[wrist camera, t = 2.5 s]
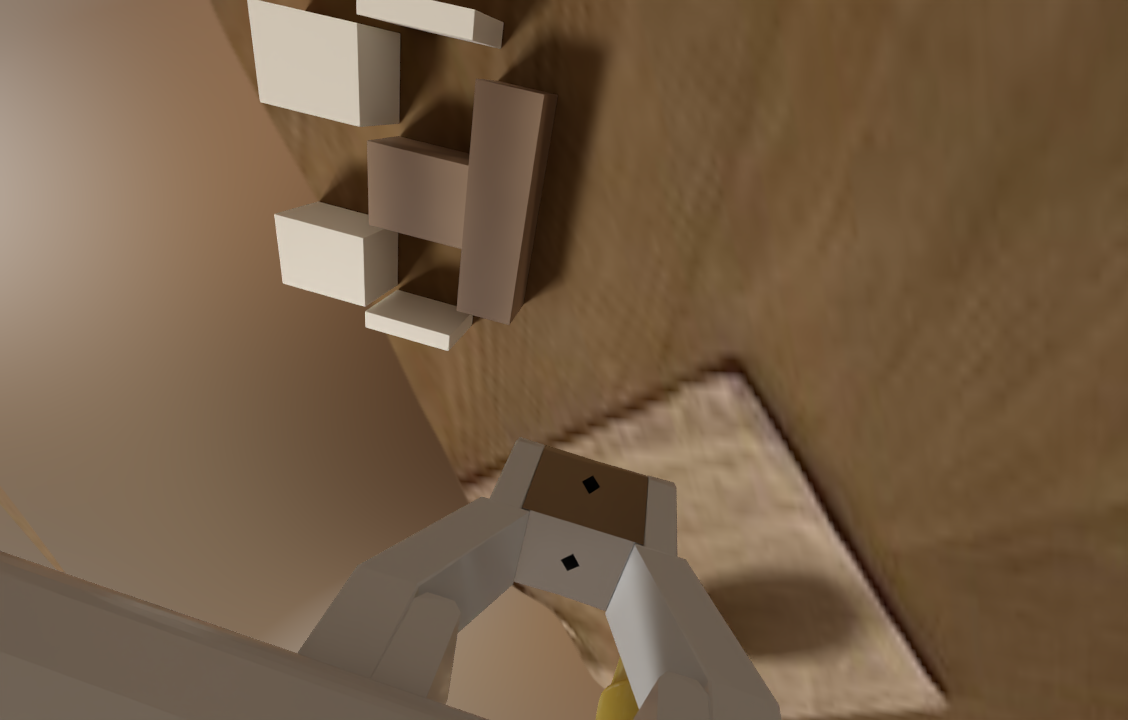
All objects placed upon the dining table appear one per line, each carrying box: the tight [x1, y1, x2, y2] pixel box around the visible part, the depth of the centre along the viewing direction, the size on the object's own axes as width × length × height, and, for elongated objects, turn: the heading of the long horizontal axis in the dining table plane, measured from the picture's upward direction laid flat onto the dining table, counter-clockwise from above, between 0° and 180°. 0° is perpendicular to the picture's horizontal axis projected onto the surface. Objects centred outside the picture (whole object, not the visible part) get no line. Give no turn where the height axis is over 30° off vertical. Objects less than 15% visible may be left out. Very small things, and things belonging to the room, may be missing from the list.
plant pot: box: [596, 657, 639, 720], centre depth 35 cm, size 10×10×10 cm
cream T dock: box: [247, 0, 504, 351], centre depth 24 cm, size 10×16×4 cm, turn 169°
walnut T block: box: [367, 79, 558, 325], centre depth 24 cm, size 8×11×3 cm
